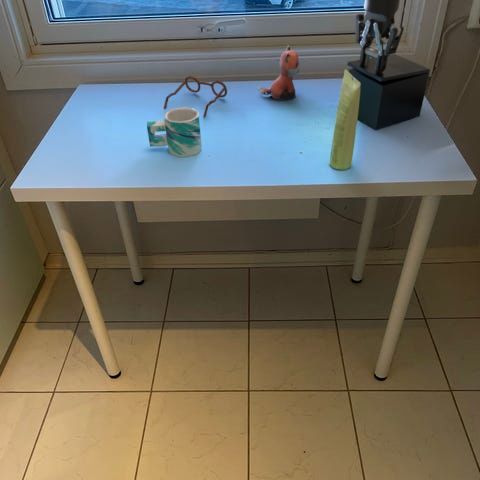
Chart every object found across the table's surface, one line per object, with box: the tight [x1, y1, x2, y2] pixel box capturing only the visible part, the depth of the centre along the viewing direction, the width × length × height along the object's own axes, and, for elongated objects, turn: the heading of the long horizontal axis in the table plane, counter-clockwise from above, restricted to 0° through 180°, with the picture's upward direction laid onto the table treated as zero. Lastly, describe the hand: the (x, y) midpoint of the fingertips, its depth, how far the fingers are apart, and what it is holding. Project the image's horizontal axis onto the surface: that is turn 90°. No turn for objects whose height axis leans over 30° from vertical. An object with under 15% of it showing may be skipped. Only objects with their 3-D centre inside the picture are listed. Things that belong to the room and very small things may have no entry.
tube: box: [329, 68, 361, 171], centre depth 110 cm, size 6×5×20 cm
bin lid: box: [346, 46, 431, 82], centre depth 125 cm, size 15×13×5 cm
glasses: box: [163, 75, 228, 118], centre depth 141 cm, size 13×13×5 cm
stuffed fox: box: [257, 44, 301, 101], centre depth 141 cm, size 8×11×12 cm
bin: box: [348, 67, 430, 131], centre depth 131 cm, size 15×13×11 cm
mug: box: [146, 106, 203, 158], centre depth 122 cm, size 8×12×8 cm
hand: (371, 67), depth 124 cm, fingers closed on bin lid, 5 cm apart
